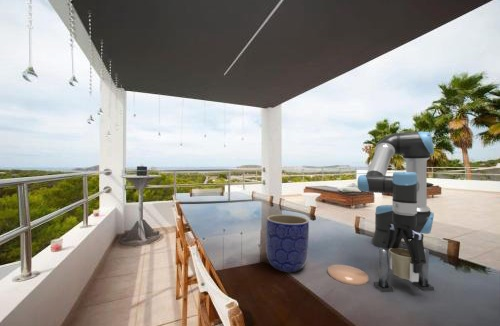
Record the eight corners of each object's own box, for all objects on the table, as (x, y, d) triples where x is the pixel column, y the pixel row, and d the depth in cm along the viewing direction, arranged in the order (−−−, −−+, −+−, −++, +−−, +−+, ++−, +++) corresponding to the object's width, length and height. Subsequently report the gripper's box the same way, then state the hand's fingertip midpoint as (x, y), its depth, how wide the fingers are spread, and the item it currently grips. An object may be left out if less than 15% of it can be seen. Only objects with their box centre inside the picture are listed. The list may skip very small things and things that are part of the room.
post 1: (384, 284, 81) (384, 247, 82) (393, 291, 77) (393, 251, 77) (373, 285, 81) (374, 247, 81) (381, 291, 77) (382, 251, 77)
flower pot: (382, 270, 85) (383, 247, 85) (405, 269, 85) (405, 247, 85) (401, 282, 75) (401, 257, 75) (426, 282, 76) (426, 257, 76)
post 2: (423, 284, 83) (423, 246, 83) (434, 290, 79) (434, 251, 79) (412, 284, 83) (413, 246, 83) (423, 290, 78) (423, 251, 79)
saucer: (353, 266, 96) (353, 264, 96) (377, 284, 81) (377, 281, 81) (321, 267, 95) (321, 264, 95) (339, 285, 80) (339, 282, 80)
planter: (281, 280, 82) (282, 225, 83) (257, 261, 99) (258, 215, 99) (317, 271, 91) (318, 221, 91) (289, 255, 107) (290, 213, 108)
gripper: (375, 207, 91) (374, 262, 90) (420, 220, 70) (419, 291, 69) (392, 207, 91) (391, 262, 91) (441, 220, 71) (440, 290, 70)
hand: (403, 274), depth 80 cm, fingers closed on flower pot, 8 cm apart
